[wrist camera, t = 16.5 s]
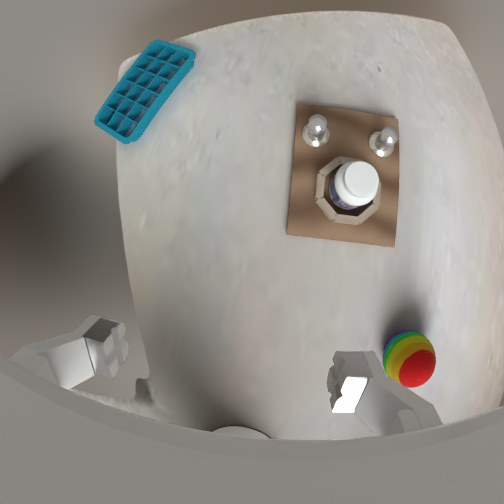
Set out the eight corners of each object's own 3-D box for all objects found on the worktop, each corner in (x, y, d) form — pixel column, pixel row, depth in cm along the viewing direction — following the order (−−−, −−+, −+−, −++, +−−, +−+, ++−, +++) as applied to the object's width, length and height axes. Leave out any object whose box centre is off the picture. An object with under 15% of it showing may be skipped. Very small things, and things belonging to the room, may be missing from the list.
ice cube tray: (203, 60, 41) (198, 52, 38) (136, 150, 44) (127, 146, 41) (160, 46, 42) (154, 38, 39) (101, 126, 45) (91, 122, 42)
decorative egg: (369, 344, 39) (387, 373, 30) (411, 315, 38) (438, 336, 28) (389, 379, 39) (406, 411, 29) (428, 351, 38) (453, 377, 28)
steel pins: (393, 159, 36) (404, 150, 31) (301, 146, 38) (301, 134, 33) (393, 134, 36) (403, 123, 31) (302, 121, 38) (303, 107, 33)
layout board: (391, 247, 38) (398, 248, 35) (286, 234, 40) (285, 234, 37) (395, 121, 36) (402, 114, 33) (297, 107, 39) (297, 98, 36)
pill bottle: (329, 210, 38) (340, 203, 28) (326, 173, 38) (335, 155, 28) (366, 209, 37) (387, 203, 28) (363, 172, 37) (382, 155, 27)
